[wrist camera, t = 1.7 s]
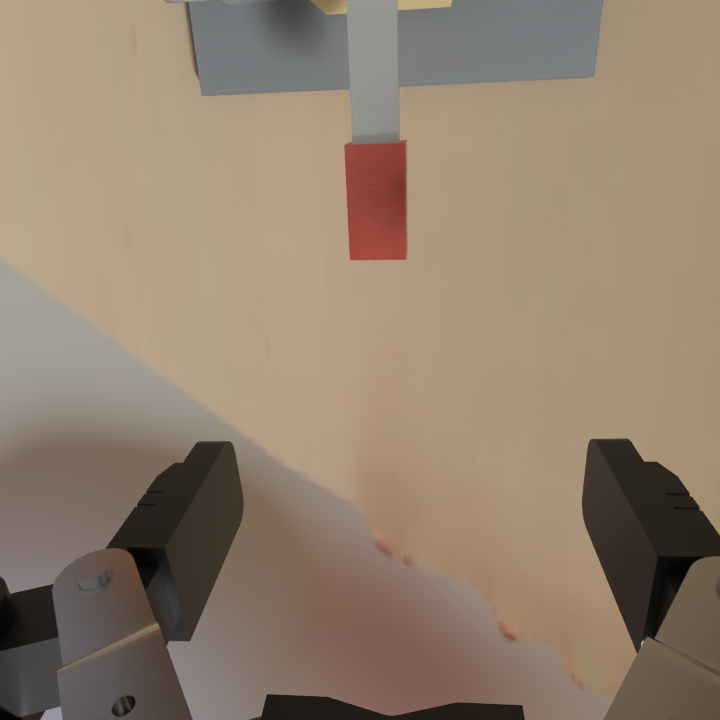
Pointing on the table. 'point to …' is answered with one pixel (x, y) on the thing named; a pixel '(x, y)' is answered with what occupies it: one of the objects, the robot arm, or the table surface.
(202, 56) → the valve stand
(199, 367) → the table surface
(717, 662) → the robot arm
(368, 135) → the lever
